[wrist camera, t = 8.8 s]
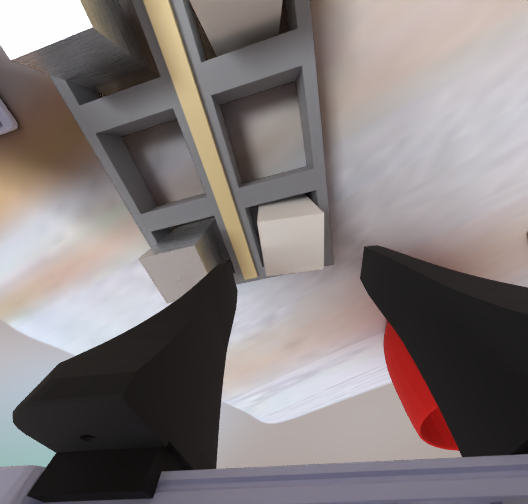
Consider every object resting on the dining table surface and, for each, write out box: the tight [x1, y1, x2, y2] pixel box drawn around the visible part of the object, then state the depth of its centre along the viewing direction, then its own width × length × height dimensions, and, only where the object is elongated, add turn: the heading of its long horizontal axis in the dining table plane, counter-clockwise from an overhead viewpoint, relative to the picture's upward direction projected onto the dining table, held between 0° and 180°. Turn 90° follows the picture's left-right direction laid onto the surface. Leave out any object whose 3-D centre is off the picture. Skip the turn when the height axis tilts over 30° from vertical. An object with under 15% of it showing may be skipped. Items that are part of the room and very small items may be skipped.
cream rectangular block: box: [257, 194, 324, 276], centre depth 15 cm, size 4×4×6 cm
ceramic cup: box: [384, 322, 459, 451], centre depth 18 cm, size 13×17×10 cm
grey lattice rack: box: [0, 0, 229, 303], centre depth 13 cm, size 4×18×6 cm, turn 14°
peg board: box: [49, 0, 334, 284], centre depth 14 cm, size 15×22×3 cm
